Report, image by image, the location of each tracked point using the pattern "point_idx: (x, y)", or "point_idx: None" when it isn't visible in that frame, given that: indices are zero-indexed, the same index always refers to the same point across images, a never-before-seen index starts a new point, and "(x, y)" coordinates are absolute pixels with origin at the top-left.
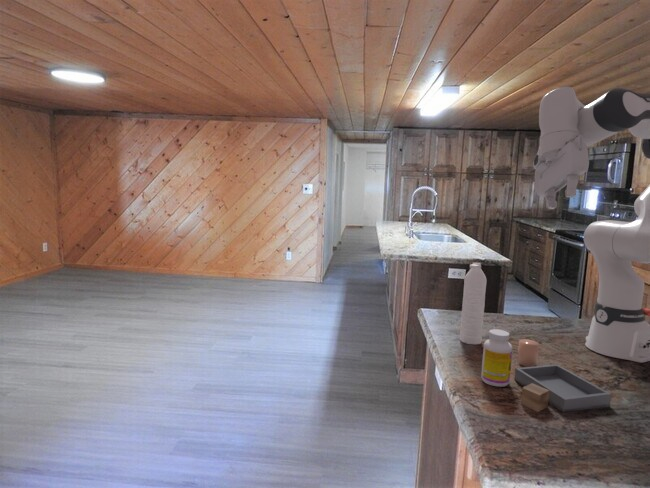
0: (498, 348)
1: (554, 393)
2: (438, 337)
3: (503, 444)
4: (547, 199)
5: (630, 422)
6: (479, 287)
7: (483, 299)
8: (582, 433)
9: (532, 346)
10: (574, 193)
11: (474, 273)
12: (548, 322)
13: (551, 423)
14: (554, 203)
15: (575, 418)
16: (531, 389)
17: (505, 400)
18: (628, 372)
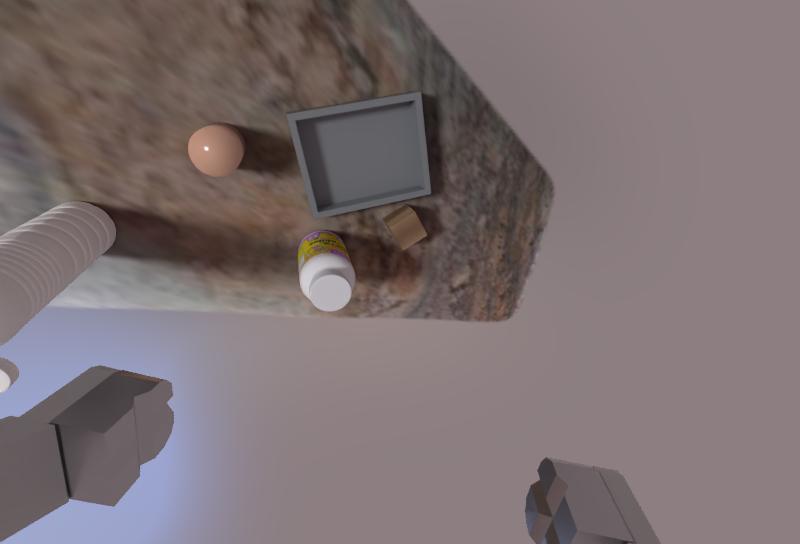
0: (352, 289)
1: (409, 198)
2: (77, 298)
3: (477, 297)
4: (11, 533)
5: (460, 95)
6: (28, 299)
7: (37, 259)
8: (473, 194)
9: (240, 156)
10: (620, 497)
11: None
12: None
13: (447, 222)
14: (134, 432)
15: (440, 179)
16: (409, 238)
17: (385, 258)
18: None
